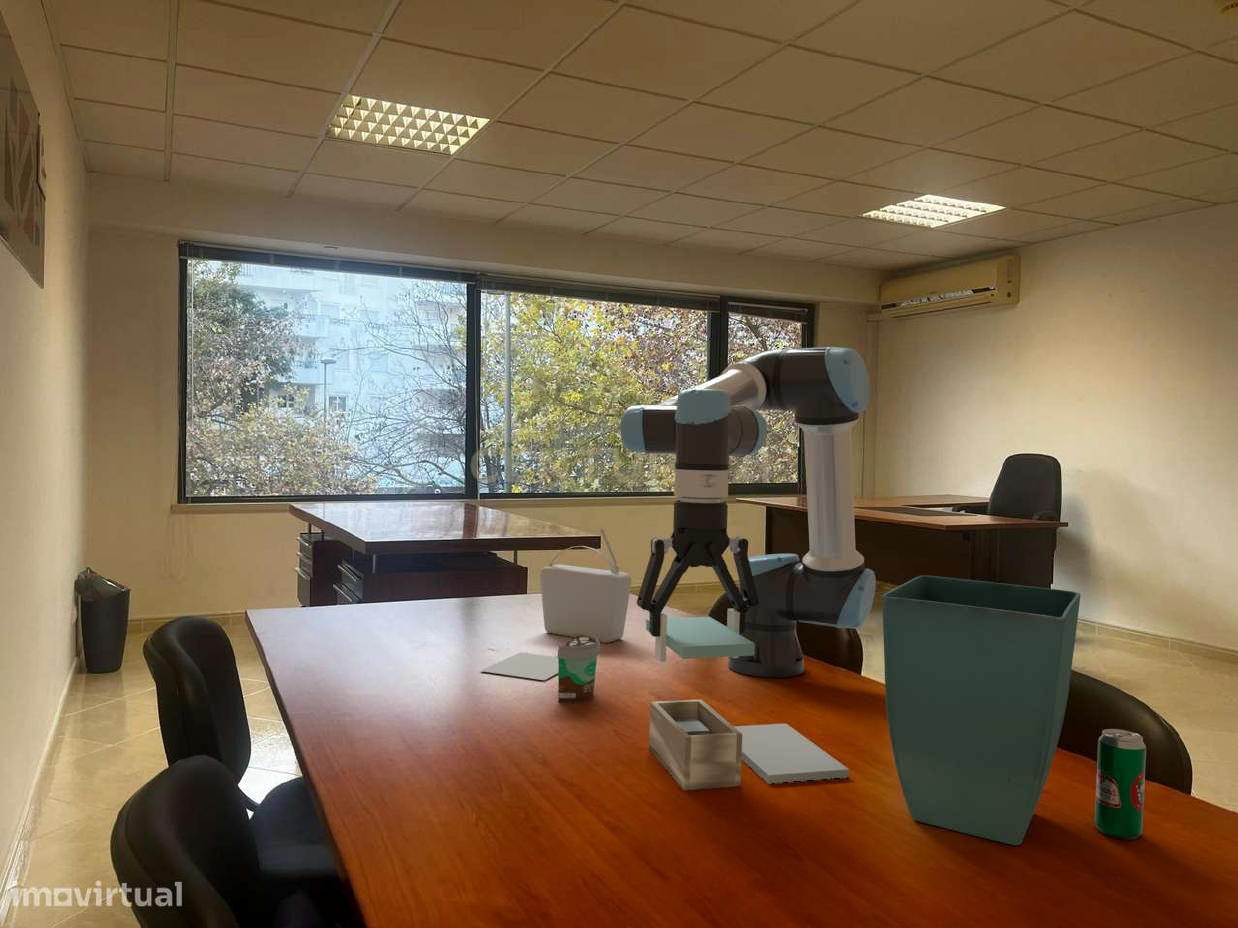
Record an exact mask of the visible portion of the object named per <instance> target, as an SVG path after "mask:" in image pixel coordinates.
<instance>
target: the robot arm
mask: <svg viewBox="0 0 1238 928" xmlns="http://www.w3.org/2000/svg"><path fill="white" fill-rule="evenodd" d="M869 395H870V380H869V374H868V370H867V366H866V364H865V362H864V359H863V357H862V356H861V355H860V353H859V352H858V351H857V350H855V349H853V348H850V347H837V346H825V347H824V346H823V347H822V346H821V347H802V348H777V349H772V350H767V351H766V350H765V351H763V352H761V353H757V354H755V355H754V354H753V355H751V356H749V357H746V358H744V359H741V360H739V361H737V362H734V363H732V364H730V365H728V366H727V367H725V369H723V371H722V372H721V374H720V375H718V376H717V377H715V378H712V379H710V380H708V381H706V382H704V383H702V384H700V385H697V386H694V387H693V388H689V389H682V390H681V391H679V393H678V394H677V395H675V396H673V397H670V398H668V399H666V400H664V401H661V402H659V403H657V404H652V405H651V404H645V403H643V404H640V405H631V406H629V407H627V408H626V410H625V411H624V412H623V414H622V417H621V419H620V424H619V431H620V438H621V442H622V443H623V445H624V447H625V449H627V450H628V451H630V452H632V453H633V452H634V453H635V452H636V453H644V454H646V455H649V454H661V455H664V454H665V455H668V454H669V455H675V463H674V484H673V485H674V489H673V495H674V496H675V498H677V499H678V500H675V502H674V503H673V520H672V521H673V528H672V529H673V531H672V533H671V535H670V537H669V538H667V537H666V538H657V537H652V538H651V540H650V556H649V560H648V563H647V565H646V570H645V573H644V576H643V579H642V583H641V586H640V590H639V593H638V596H637V598H636V599H637V600H636V605H637V606H638V607H639V608H641V609H642V610H643V611H648V612H649V619H650V620H649V632H648V633H650V635H651V636H652V638H653V637H654V638H655V644H654V645H655V646H654V647H655V650H654V657H655V658H656V659H657V660H658V661H659V662H660V663H661V662H662V663H663V662H667V646H666V636H667V618H668V614H667V613H666V612H663V610H664V608H665V607H666V605H667V603H668V602H669V600H670V598H671V596H672V594H673V593H674V591H675V589H676V588H677V586H678V583H680V580H681V579H682V577H683V575H684V573H686V572H687V571H688V569H689V568H698V567H702V566H703V567H706V568H712V569H713V571H714V573H715V574H716V577H717V579H718V580H719V582H720V584H721V586H722V588H723V589H724V592H725V594H726V596H727V597H728V600H729V601H730V603H731V606H732V607H733V608H727V614H726V615H727V616H726V620H727V621H726V627H728V628H729V629H731V630H733V631H735V632H736V633H738V634H740V635H741V636H743V637H745V638H746V639H748V640H750V641H751V642H753V643H755V651H754V656H732V657H727V658H728V661H727V666H728V668H729V669H731V671H734V672H736V673H740V674H743V675H748V676H753V677H761V678H788V677H789V678H790V677H795V676H798V675H801V674H802V673H804V665H805V664H804V663H805V662H804V660H805V659H804V656H803V652H802V649H801V645H800V641H799V639H798V635H797V622H799V623H807V624H814V625H819V626H827V627H831V628H832V627H835V628H837V629H841V628H843V629H858V628H859V629H860V627H862V626H863V625H864V624H865V623H866V622H867V620H868V618H869V616H870V613H871V611H872V610H871V609H872V607H873V603H874V598H875V593H876V583H877V581H876V579H877V578H876V575H875V572H874V571H873V570H872V569H869V568H865V557H864V556H863V554H861V553H860V552H859V551H858V550H856V549H857V548H856V528H855V501H854V498H855V497H854V475H853V450H852V427H854V426H855V425H856V424H857V422H859V420H860V413H861V412H864V411H865V410H866V409H867V408H868V405H869V401H870V397H869ZM759 411H783V412H794V423H795V424H796V425H797V426H798V427H799V428H800V429H802V431H803V439H804V441H803V442H804V462H805V463H804V464H805V479H806V480H805V481H806V482H805V483H806V484H805V485H806V503H807V504H806V505H807V520H808V521H807V523H808V539H809V550H808V552H807V553H805V555H804V556H803V557H802V562H800V558H799V555H798V554H797V553H773V554H772V553H771V554H761V555H760V554H759V555H754V556H748V555H749V554H748V551H749V540H748V539H747V538H744V537H740V536H736V537H729V535H728V531H727V529H728V513H729V510H728V507H729V506H728V505H729V504H727V502H725V501H724V499H726V498H728V497H729V473H730V472H729V466H730V464H729V463H730V457H739V458H745V457H746V456H750V455H754V454H756V453H757V452H758V451H760V450H761V449H762V447H763V446H764V444H765V443H766V441H767V437H768V426H767V425H768V424H767V422H766V419H765V418H764V417H763V415H762V414H761V413H760V412H759ZM728 547H729V550H730V552H731V553H732V554H733V559H734V563H735V568H736V573H737V575H738V576H737V577H738V583H739V584H738V586H737V585H736V582H735V580H734V578H733V577H732V575H731V573H730V571H729V569H728V565H727V564H726V561H725V559H724V557H723V554H724V553H725V551H726V550H727V549H728ZM670 548H672V550H673V551H674V552H675V557H674V558H673V560H672V562H671V565H670V568H669V569H668V571H667V573H666V574H665V577H663V580H662V581H661V583H660V585H659V587H658V588H657V590H656V587H657V584H658V581H659V577H660V573H661V569H662V567H663V565H664V564H663V563H664V560H665V555H666V554H668V552H669V549H670ZM655 590H656V592H655Z"/></svg>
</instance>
